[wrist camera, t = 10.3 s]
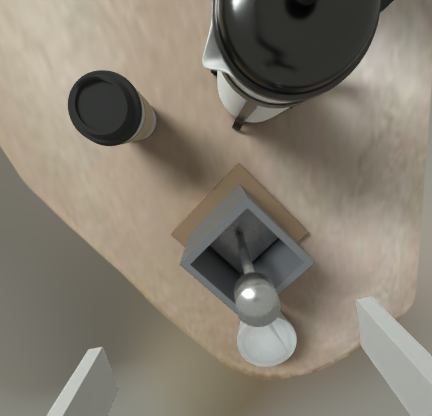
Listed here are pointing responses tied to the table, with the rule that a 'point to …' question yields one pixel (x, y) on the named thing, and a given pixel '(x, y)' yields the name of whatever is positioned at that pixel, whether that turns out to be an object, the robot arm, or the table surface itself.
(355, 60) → the coffee press
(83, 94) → the coffee cup
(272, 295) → the plunger
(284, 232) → the square grey bin
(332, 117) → the table surface
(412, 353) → the robot arm
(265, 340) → the ramekin
